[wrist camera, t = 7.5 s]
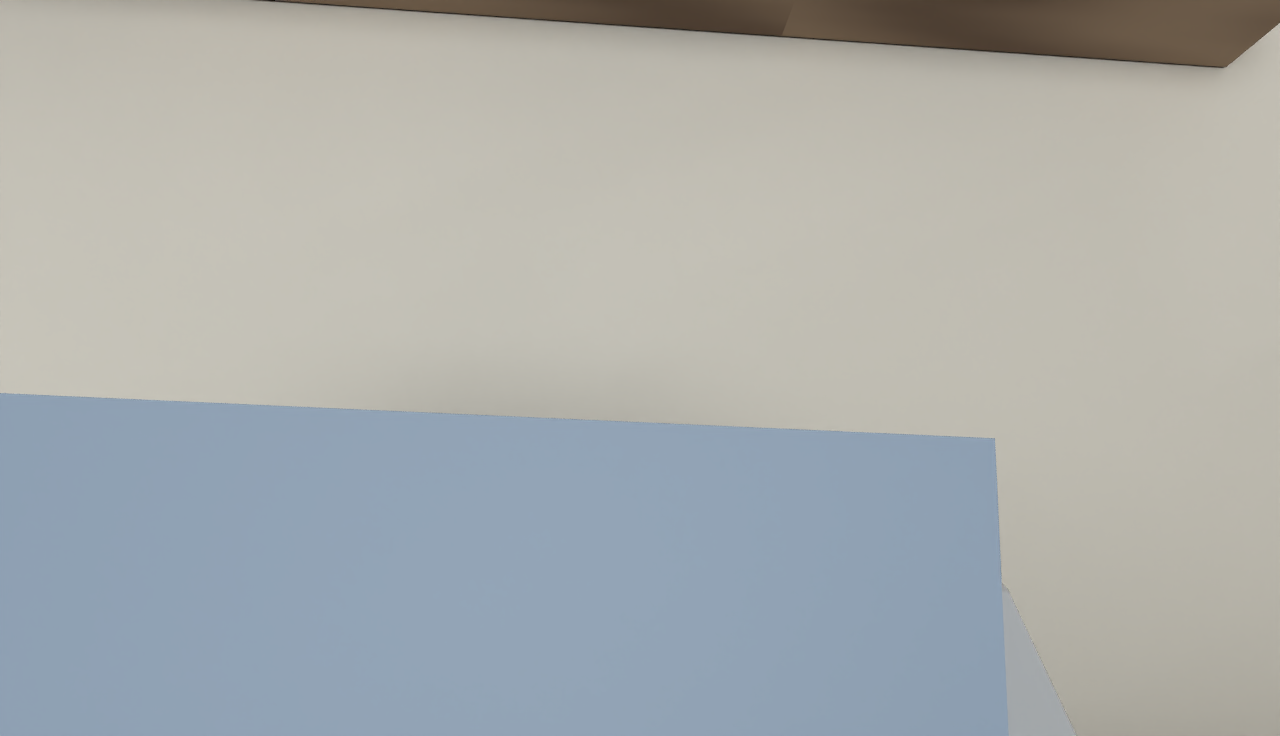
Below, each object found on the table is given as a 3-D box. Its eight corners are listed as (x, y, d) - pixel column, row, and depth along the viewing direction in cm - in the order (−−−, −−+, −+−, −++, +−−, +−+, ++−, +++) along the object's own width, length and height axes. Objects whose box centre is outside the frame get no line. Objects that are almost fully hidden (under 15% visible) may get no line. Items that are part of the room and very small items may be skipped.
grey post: (712, 554, 13) (994, 439, 5) (708, 805, 13) (1031, 1244, 4) (355, 540, 13) (-82, 390, 4) (330, 796, 12) (-253, 1249, 4)
